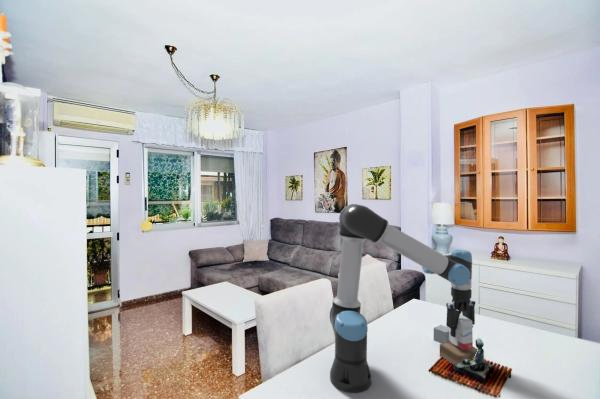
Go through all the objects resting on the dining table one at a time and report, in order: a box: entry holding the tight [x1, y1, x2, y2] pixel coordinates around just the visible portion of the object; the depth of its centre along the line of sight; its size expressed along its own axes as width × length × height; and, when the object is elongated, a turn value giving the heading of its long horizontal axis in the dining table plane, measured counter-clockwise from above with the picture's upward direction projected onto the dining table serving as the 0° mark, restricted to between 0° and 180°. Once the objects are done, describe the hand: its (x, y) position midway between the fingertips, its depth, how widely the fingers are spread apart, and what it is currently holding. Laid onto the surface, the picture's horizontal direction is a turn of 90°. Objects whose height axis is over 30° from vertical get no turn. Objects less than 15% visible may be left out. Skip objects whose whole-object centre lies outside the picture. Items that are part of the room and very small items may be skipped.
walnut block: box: [439, 342, 479, 366], centre depth 125 cm, size 12×10×5 cm
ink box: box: [448, 313, 474, 350], centre depth 125 cm, size 9×5×12 cm, turn 8°
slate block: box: [433, 324, 451, 344], centre depth 141 cm, size 6×6×6 cm
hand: (460, 342), depth 125 cm, fingers closed on ink box, 6 cm apart
